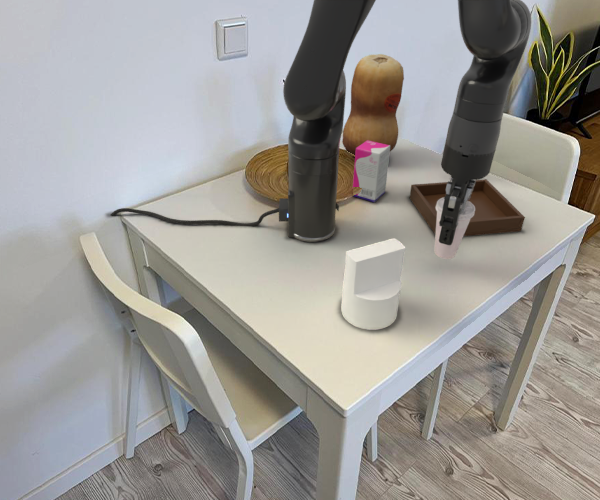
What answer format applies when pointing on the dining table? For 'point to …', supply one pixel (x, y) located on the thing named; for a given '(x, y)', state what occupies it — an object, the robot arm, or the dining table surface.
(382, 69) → the butternut squash
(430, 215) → the tray
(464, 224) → the smoothie
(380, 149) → the supplement box
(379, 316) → the cylinder with rectangular tab
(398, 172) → the dining table surface
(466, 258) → the dining table surface
